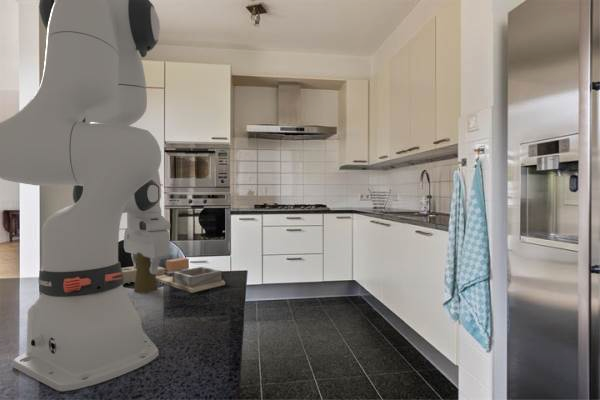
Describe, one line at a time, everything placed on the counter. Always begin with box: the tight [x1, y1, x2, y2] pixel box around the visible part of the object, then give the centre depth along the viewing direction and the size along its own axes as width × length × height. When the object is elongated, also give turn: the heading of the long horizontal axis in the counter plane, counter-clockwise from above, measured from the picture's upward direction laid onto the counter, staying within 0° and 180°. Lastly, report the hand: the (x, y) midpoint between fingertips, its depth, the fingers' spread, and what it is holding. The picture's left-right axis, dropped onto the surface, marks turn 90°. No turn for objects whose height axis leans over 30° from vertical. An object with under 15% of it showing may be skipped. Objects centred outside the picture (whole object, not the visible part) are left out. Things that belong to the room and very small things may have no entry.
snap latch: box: [165, 257, 190, 271], centre depth 107 cm, size 3×6×3 cm, turn 140°
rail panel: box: [156, 266, 226, 294], centre depth 103 cm, size 22×11×4 cm, turn 50°
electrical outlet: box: [121, 265, 166, 285], centre depth 107 cm, size 7×4×18 cm
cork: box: [133, 252, 158, 294], centre depth 95 cm, size 6×6×11 cm
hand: (145, 271), depth 95 cm, fingers open, 8 cm apart
